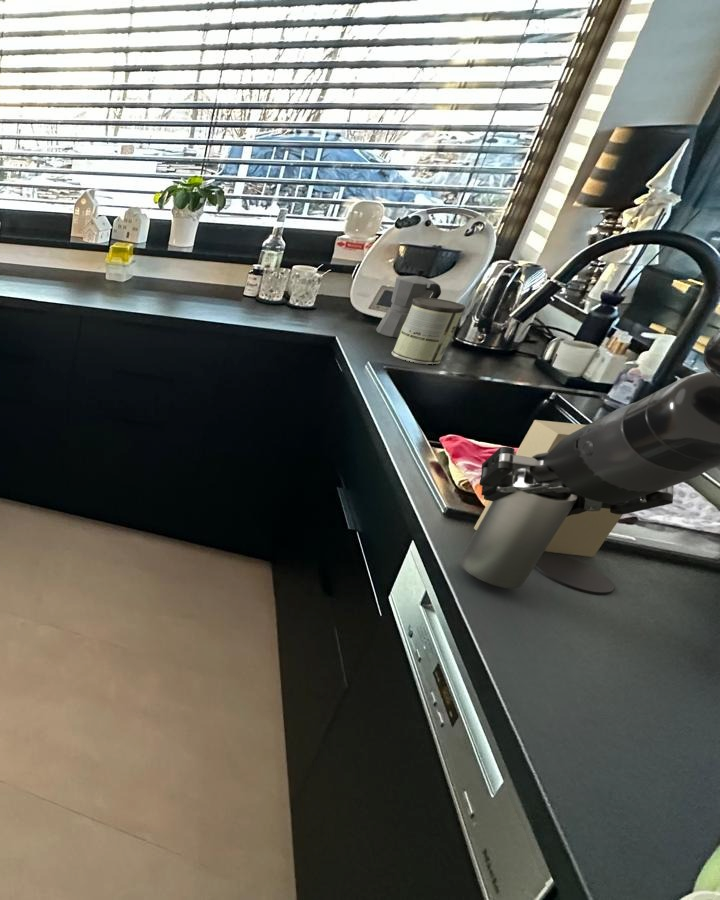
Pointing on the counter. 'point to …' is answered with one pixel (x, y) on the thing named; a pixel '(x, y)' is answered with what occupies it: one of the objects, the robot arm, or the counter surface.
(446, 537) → the counter surface
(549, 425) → the coffee maker
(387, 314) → the coffeepot
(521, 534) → the grey canister
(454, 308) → the coffee can
